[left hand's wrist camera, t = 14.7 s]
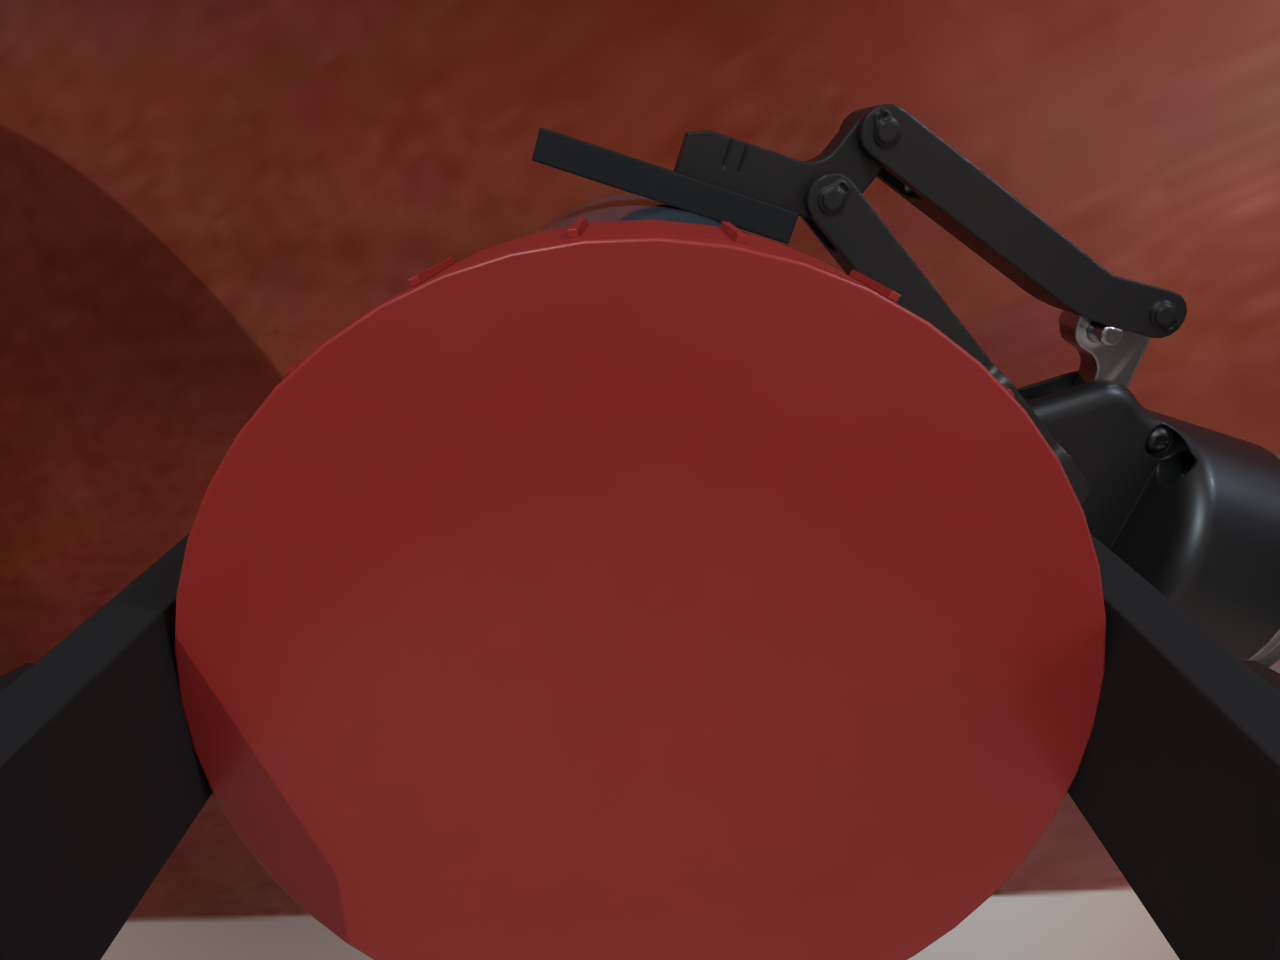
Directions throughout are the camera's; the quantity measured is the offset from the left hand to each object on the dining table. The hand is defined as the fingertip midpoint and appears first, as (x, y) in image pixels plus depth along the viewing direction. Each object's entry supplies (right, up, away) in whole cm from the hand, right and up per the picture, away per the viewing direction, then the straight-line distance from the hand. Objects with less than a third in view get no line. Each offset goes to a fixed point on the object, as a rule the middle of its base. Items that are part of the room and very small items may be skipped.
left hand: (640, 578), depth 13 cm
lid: (0, -1, -3) cm, 3 cm away
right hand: (-4, +5, +10) cm, 12 cm away
